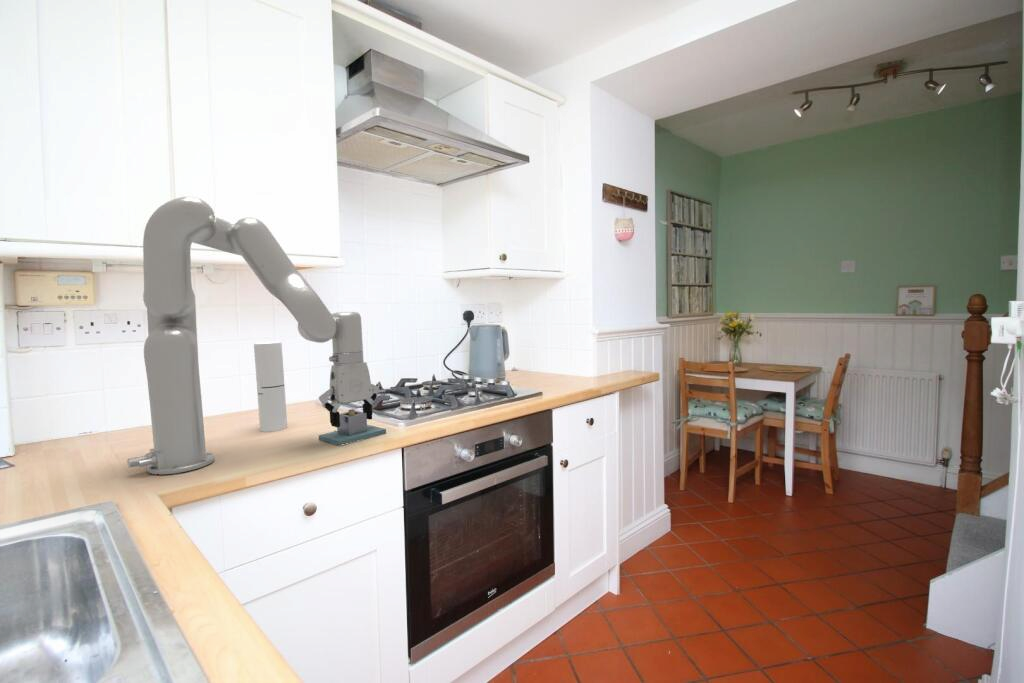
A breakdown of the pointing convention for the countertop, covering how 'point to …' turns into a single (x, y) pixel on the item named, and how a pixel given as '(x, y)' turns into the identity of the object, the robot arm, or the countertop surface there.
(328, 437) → the teal peg base
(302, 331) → the robot arm
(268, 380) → the grey piece
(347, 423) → the grey square nut block
